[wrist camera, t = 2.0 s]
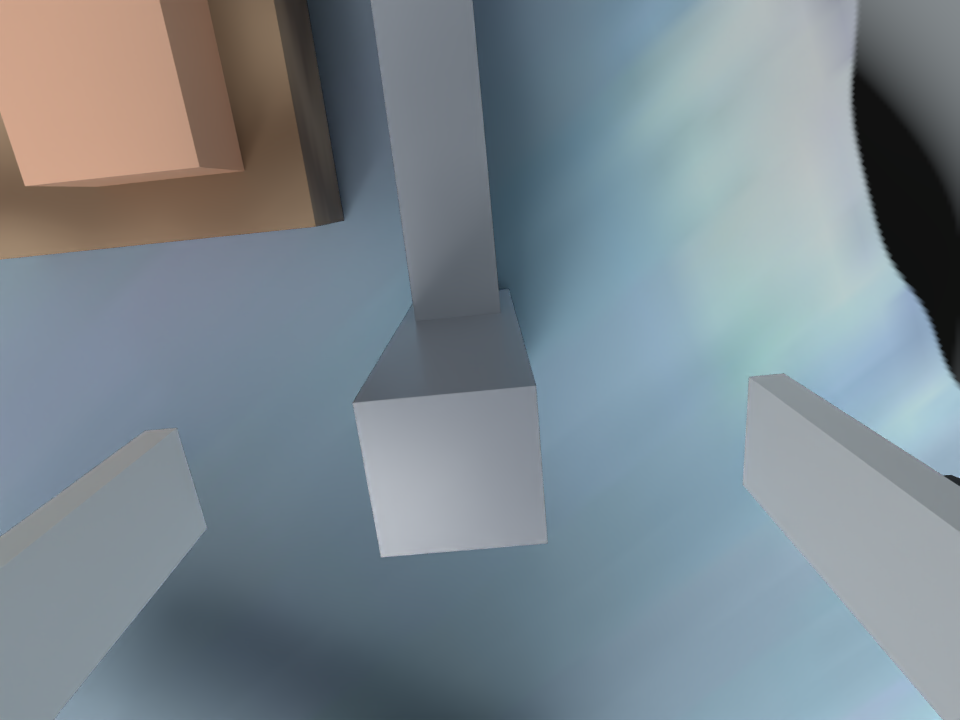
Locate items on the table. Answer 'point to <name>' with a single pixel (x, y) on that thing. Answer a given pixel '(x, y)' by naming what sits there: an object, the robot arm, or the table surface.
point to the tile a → (114, 92)
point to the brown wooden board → (208, 198)
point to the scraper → (447, 315)
